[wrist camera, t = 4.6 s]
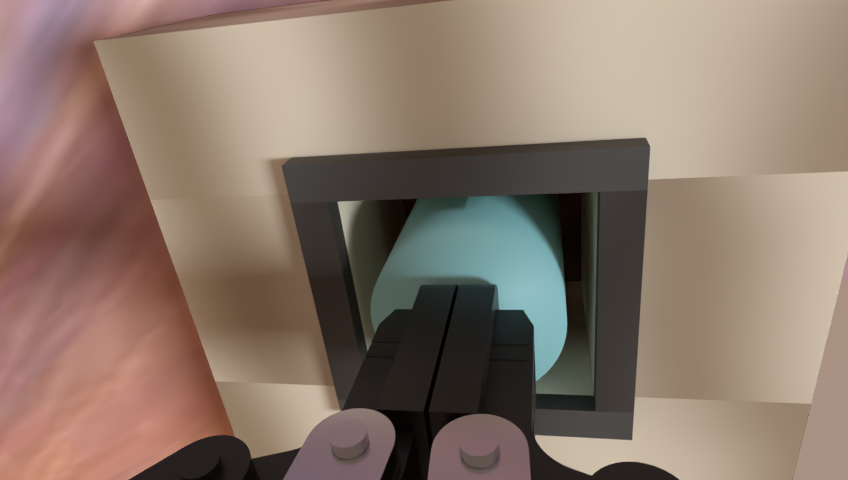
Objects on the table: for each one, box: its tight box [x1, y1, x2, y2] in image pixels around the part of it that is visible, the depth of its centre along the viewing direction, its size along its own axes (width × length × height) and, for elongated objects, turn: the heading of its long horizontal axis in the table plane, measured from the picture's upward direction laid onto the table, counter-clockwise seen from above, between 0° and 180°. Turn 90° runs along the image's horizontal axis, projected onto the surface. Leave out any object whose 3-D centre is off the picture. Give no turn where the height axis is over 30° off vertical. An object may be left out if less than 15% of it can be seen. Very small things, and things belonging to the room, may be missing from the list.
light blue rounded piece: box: [371, 193, 567, 381], centre depth 14 cm, size 4×4×6 cm
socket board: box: [93, 0, 848, 480], centre depth 16 cm, size 14×18×6 cm
